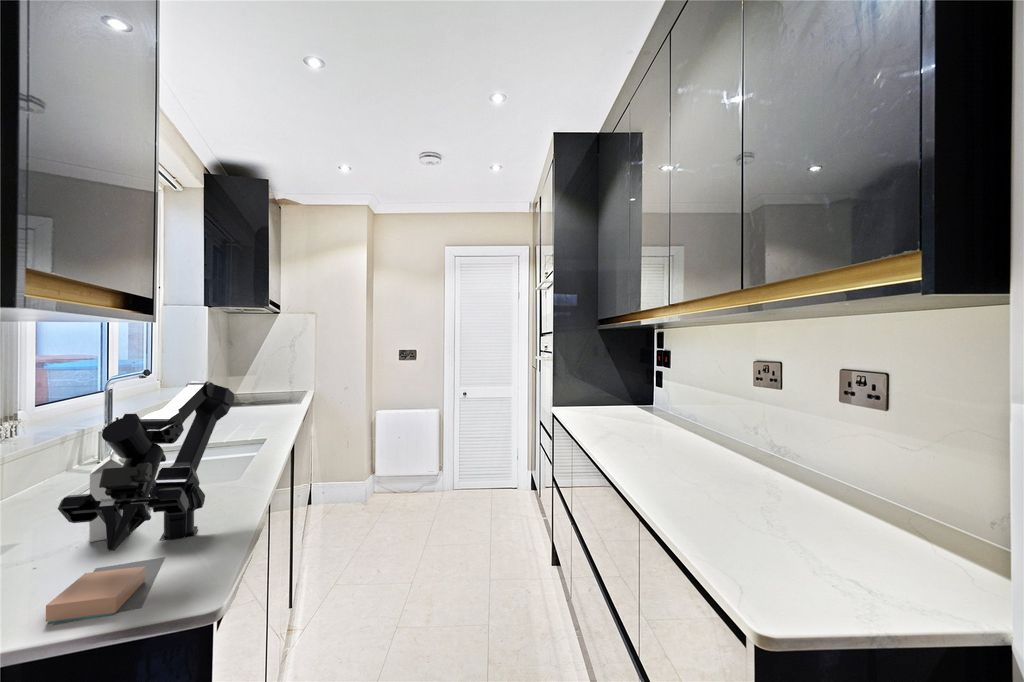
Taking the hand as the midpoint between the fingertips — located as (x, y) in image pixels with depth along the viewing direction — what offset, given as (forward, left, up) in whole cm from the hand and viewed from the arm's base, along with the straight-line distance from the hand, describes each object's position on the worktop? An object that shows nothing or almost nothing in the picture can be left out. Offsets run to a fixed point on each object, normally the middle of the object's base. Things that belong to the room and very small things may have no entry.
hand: (110, 550), depth 85 cm
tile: (-2, 0, -5) cm, 6 cm away
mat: (-1, +1, -8) cm, 8 cm away
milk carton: (-33, -7, -8) cm, 35 cm away
